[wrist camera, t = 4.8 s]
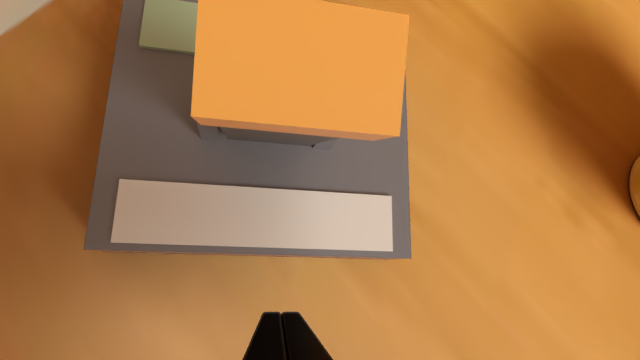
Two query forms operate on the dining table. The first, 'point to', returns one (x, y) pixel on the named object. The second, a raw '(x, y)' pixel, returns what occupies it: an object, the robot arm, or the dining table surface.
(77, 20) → the dining table surface
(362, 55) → the handle
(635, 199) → the plant pot
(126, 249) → the switch base
